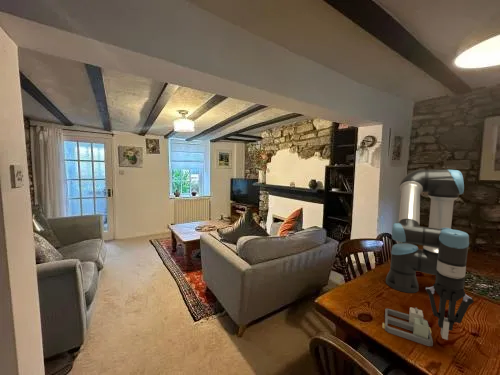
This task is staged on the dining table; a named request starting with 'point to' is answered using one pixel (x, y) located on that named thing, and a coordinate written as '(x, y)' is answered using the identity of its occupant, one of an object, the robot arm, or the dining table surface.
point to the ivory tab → (415, 314)
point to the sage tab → (420, 328)
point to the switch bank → (404, 325)
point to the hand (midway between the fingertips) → (444, 336)
